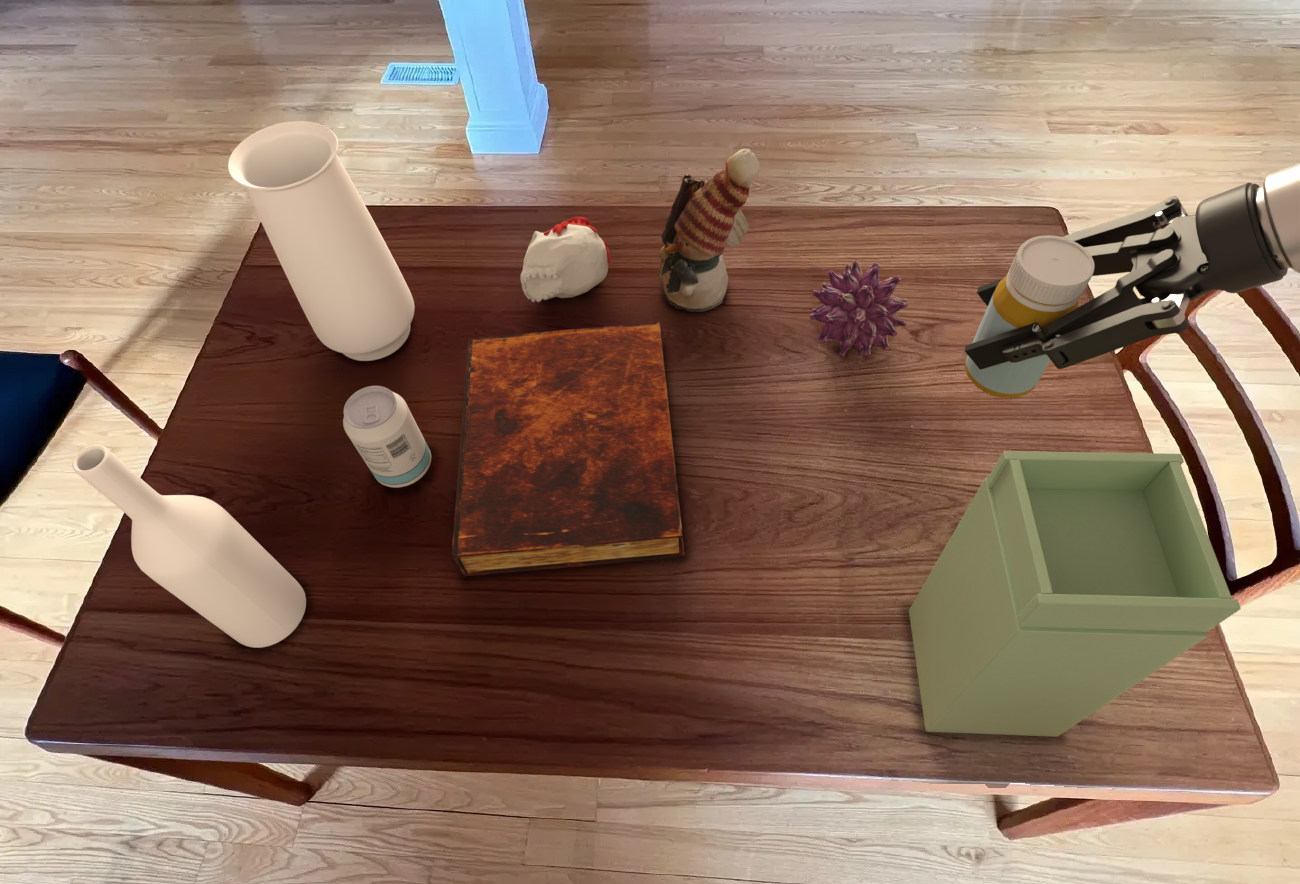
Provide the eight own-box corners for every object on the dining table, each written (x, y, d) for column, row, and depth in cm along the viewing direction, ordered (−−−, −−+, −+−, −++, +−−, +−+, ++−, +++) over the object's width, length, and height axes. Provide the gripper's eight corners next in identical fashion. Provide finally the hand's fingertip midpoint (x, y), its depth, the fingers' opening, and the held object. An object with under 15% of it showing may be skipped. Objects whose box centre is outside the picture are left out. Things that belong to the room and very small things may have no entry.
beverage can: (432, 437, 96) (401, 375, 86) (435, 485, 92) (403, 425, 82) (374, 449, 95) (337, 387, 85) (375, 497, 91) (336, 439, 81)
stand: (1029, 613, 80) (1180, 449, 55) (1058, 736, 73) (1243, 613, 48) (908, 610, 81) (1002, 447, 56) (925, 731, 74) (1040, 608, 49)
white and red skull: (525, 317, 105) (540, 250, 115) (609, 316, 104) (617, 249, 114) (512, 261, 98) (530, 195, 108) (602, 260, 98) (612, 193, 108)
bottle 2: (973, 403, 76) (1026, 292, 64) (955, 349, 80) (1001, 234, 68) (1045, 399, 76) (1113, 287, 64) (1024, 345, 80) (1083, 229, 68)
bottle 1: (238, 580, 86) (53, 420, 61) (312, 572, 86) (157, 409, 61) (222, 652, 82) (15, 511, 57) (301, 644, 82) (128, 499, 57)
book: (476, 364, 102) (466, 338, 98) (662, 348, 102) (660, 321, 98) (462, 576, 85) (450, 556, 81) (684, 556, 85) (683, 535, 81)
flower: (791, 340, 103) (857, 284, 105) (859, 393, 97) (928, 333, 99) (783, 284, 94) (856, 223, 95) (858, 339, 88) (934, 274, 89)
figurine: (669, 245, 112) (665, 119, 96) (756, 258, 110) (767, 130, 94) (645, 313, 105) (636, 189, 89) (738, 328, 103) (746, 204, 86)
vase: (430, 296, 109) (357, 113, 86) (412, 370, 102) (328, 191, 79) (338, 298, 110) (241, 117, 87) (314, 371, 103) (201, 195, 79)
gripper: (1302, 360, 54) (984, 433, 71) (1285, 181, 64) (1011, 282, 81) (1261, 286, 51) (939, 381, 68) (1250, 110, 61) (973, 232, 78)
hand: (979, 327), depth 75 cm, fingers closed on bottle 2, 7 cm apart
